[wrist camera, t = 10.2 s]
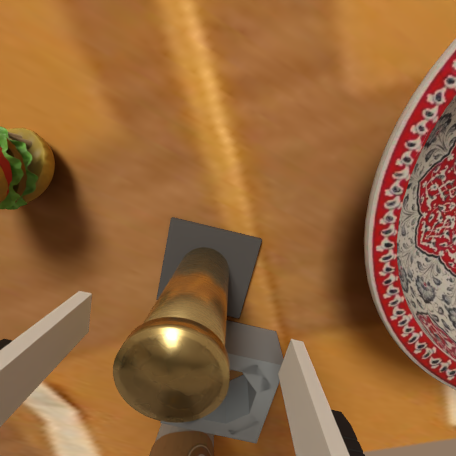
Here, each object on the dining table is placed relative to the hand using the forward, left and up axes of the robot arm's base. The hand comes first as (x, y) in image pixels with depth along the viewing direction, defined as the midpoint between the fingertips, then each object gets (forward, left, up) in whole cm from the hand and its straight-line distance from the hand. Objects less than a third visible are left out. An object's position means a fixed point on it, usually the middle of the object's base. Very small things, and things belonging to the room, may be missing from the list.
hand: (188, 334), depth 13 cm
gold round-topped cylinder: (0, 0, -9) cm, 9 cm away
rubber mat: (0, 0, -10) cm, 10 cm away
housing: (+4, -10, -10) cm, 15 cm away
